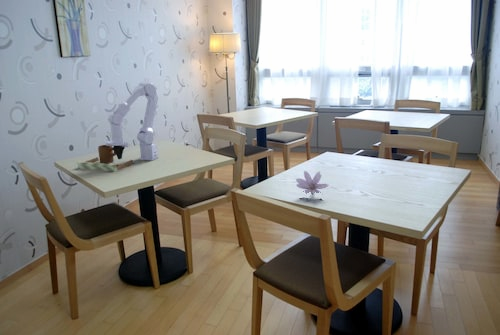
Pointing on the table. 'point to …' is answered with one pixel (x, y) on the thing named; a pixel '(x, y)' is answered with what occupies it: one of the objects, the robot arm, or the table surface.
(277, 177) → the table surface
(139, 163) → the table surface
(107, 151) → the mug
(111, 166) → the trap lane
